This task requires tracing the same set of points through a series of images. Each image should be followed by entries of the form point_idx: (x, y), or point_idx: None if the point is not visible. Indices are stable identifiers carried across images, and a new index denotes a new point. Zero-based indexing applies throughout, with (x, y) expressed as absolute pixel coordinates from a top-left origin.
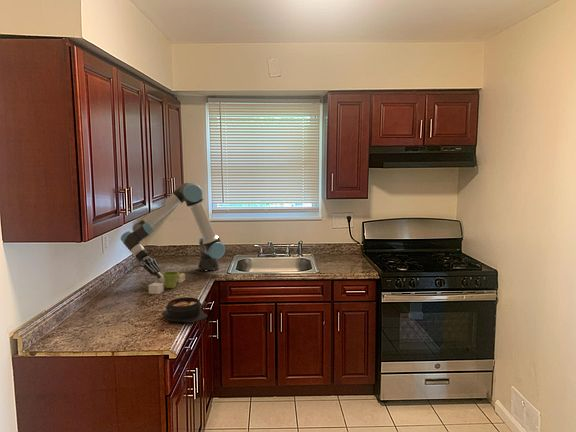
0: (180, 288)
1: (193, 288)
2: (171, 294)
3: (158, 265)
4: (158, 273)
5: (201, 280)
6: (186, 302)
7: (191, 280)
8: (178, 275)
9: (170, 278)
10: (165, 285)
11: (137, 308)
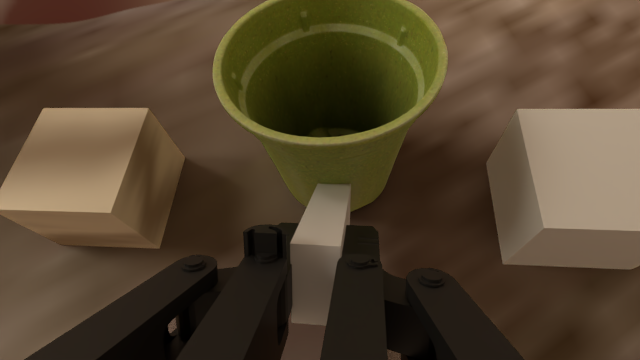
0: None
1: None
2: (538, 62)
3: (63, 334)
4: (341, 247)
5: (94, 52)
6: None
7: None
8: (131, 128)
9: (405, 59)
10: (381, 187)
11: None
